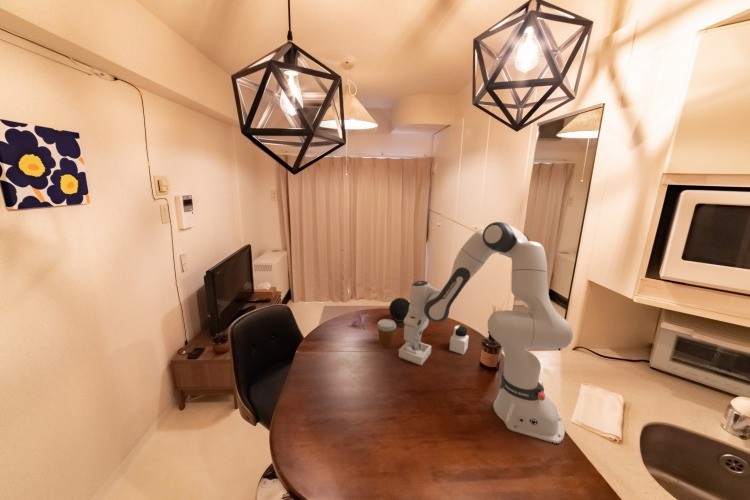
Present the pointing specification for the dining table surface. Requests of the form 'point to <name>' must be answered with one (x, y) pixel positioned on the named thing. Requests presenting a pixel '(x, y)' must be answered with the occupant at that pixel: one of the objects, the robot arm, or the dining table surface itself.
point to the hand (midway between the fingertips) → (416, 341)
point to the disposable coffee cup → (386, 332)
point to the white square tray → (415, 353)
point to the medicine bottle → (459, 340)
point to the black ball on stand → (399, 311)
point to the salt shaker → (417, 343)
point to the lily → (360, 319)
